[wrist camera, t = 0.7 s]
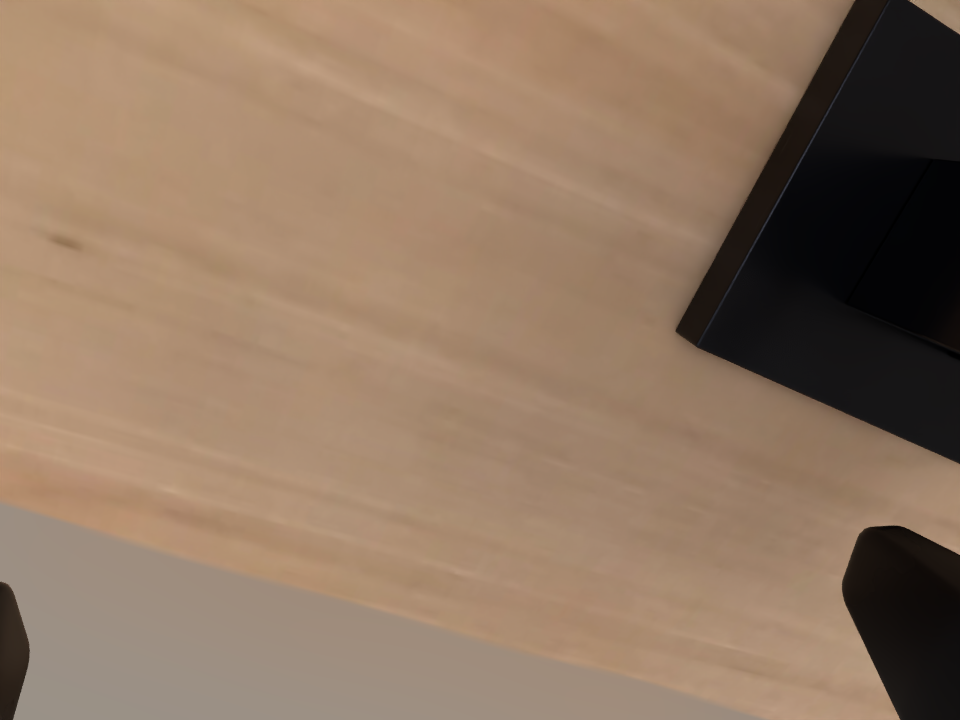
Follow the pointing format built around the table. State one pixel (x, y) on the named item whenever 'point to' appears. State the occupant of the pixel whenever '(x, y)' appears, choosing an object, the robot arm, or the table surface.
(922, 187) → the bracket
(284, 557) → the table surface
